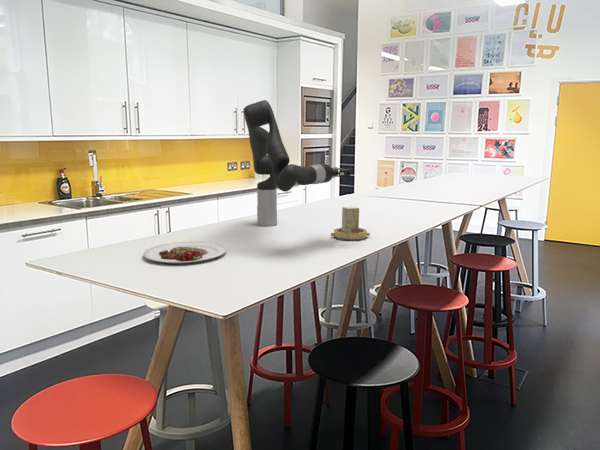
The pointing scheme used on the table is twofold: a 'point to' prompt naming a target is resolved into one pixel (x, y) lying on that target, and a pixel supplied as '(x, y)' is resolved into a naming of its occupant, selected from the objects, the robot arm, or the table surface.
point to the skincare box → (350, 219)
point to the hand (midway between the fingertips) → (344, 170)
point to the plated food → (184, 252)
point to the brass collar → (350, 234)
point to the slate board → (351, 239)
